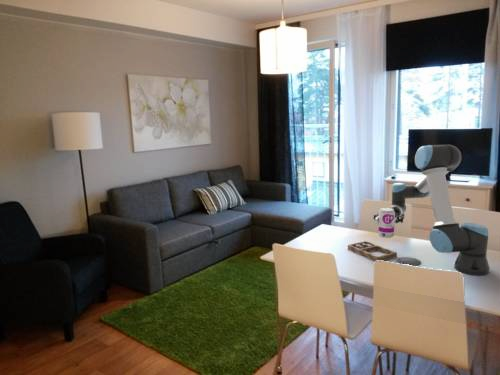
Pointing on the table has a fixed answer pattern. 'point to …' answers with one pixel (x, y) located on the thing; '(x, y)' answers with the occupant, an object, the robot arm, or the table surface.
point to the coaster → (408, 261)
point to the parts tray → (367, 247)
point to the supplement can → (386, 222)
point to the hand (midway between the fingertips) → (384, 222)
